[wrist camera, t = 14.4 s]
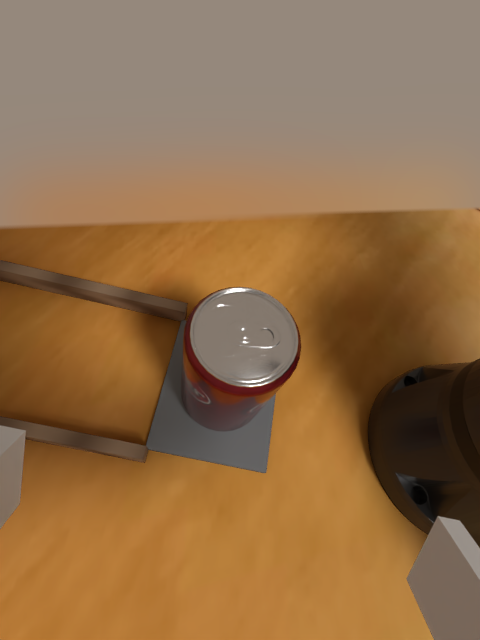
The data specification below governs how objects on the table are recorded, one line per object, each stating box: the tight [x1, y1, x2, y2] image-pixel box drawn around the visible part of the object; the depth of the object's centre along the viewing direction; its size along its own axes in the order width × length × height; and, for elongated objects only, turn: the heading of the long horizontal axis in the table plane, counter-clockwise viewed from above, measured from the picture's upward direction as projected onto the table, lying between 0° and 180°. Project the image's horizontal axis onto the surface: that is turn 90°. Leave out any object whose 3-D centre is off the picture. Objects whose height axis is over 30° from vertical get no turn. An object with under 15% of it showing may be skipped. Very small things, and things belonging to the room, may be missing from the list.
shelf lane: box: [0, 260, 187, 463], centre depth 30 cm, size 23×14×3 cm, turn 80°
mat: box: [146, 320, 276, 473], centre depth 32 cm, size 10×12×1 cm
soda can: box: [181, 287, 301, 432], centre depth 26 cm, size 7×7×12 cm
